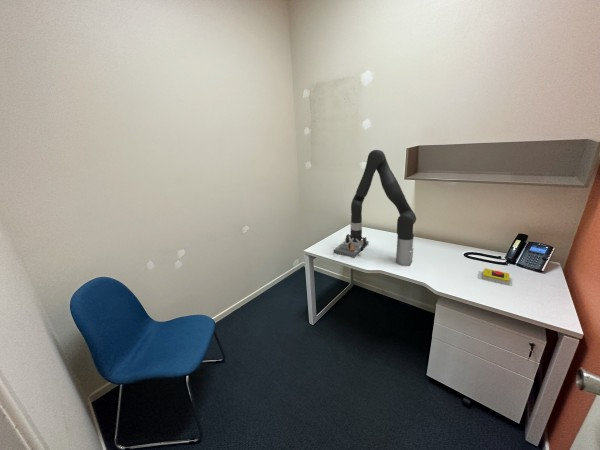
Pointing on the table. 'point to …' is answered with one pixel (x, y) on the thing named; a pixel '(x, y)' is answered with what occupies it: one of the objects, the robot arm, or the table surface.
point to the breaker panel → (344, 249)
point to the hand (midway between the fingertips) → (355, 249)
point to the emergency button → (495, 276)
